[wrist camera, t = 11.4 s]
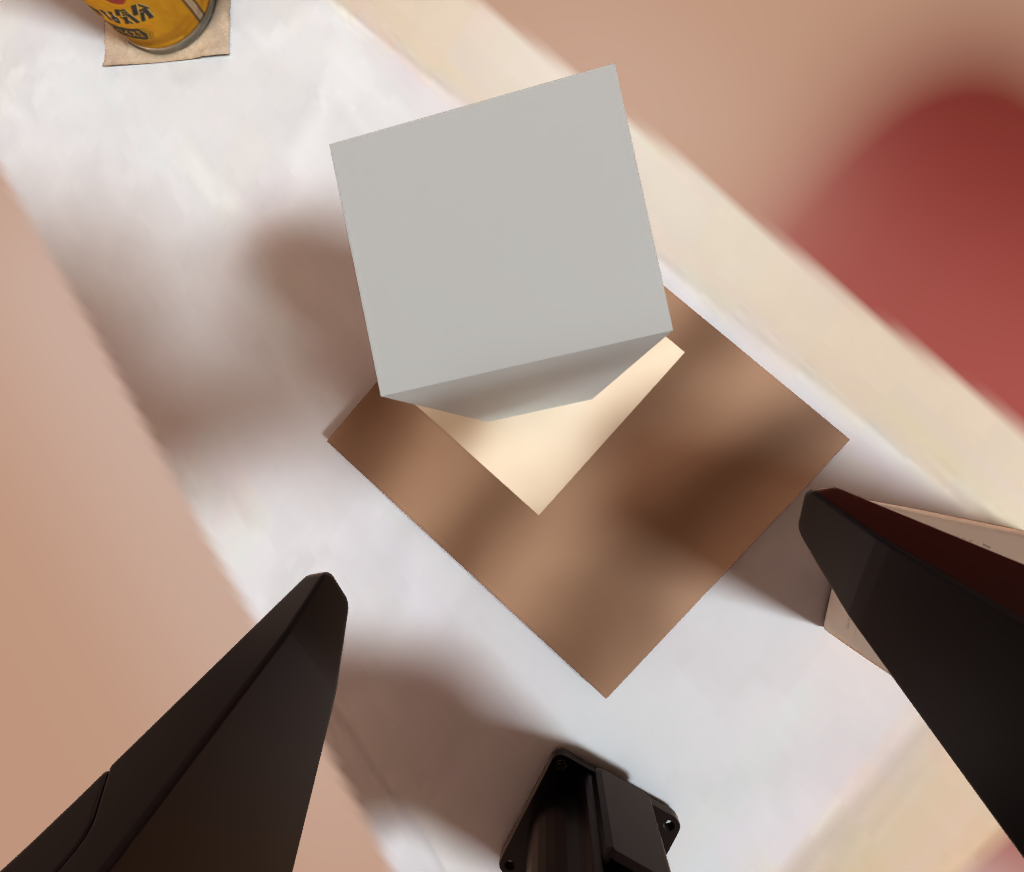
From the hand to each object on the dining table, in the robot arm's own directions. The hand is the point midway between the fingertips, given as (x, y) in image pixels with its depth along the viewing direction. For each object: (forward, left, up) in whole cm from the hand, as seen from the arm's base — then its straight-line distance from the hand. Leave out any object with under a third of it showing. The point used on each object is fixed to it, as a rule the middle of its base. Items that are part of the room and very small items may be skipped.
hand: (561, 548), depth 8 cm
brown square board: (+2, +1, -12) cm, 13 cm away
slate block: (+4, +3, -12) cm, 13 cm away
